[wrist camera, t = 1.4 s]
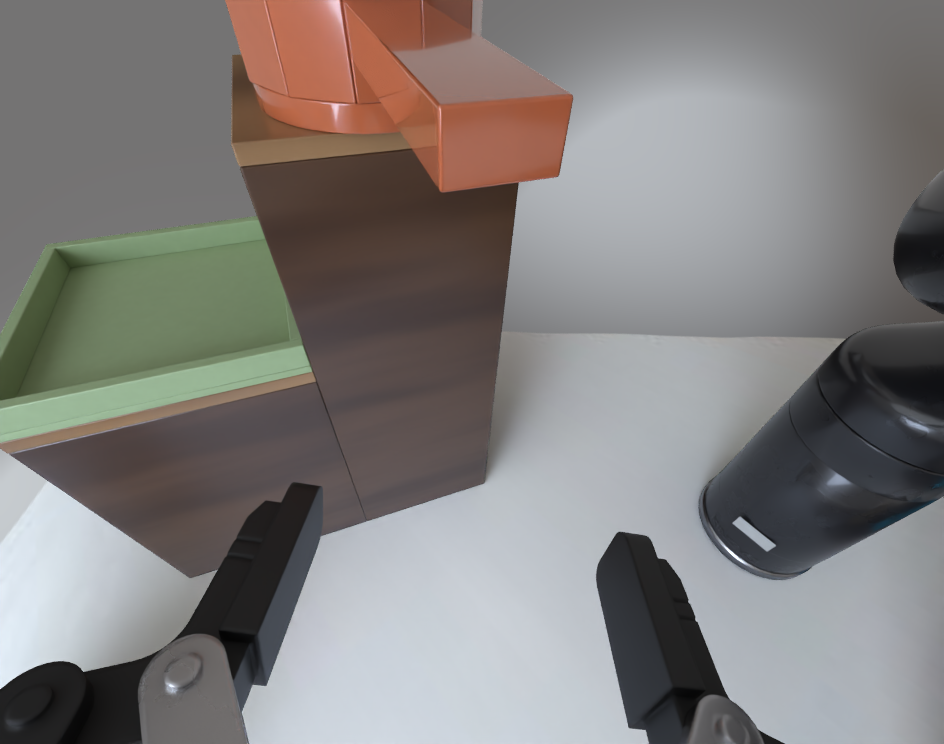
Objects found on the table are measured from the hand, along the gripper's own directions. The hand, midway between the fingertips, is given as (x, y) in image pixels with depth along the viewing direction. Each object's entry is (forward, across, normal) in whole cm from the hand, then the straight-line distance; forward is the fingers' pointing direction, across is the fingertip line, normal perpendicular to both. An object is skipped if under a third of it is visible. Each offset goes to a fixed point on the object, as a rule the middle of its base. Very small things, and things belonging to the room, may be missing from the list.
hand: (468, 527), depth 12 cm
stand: (+22, +9, +22) cm, 33 cm away
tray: (+15, +17, +5) cm, 23 cm away
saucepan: (+10, +4, -8) cm, 13 cm away
